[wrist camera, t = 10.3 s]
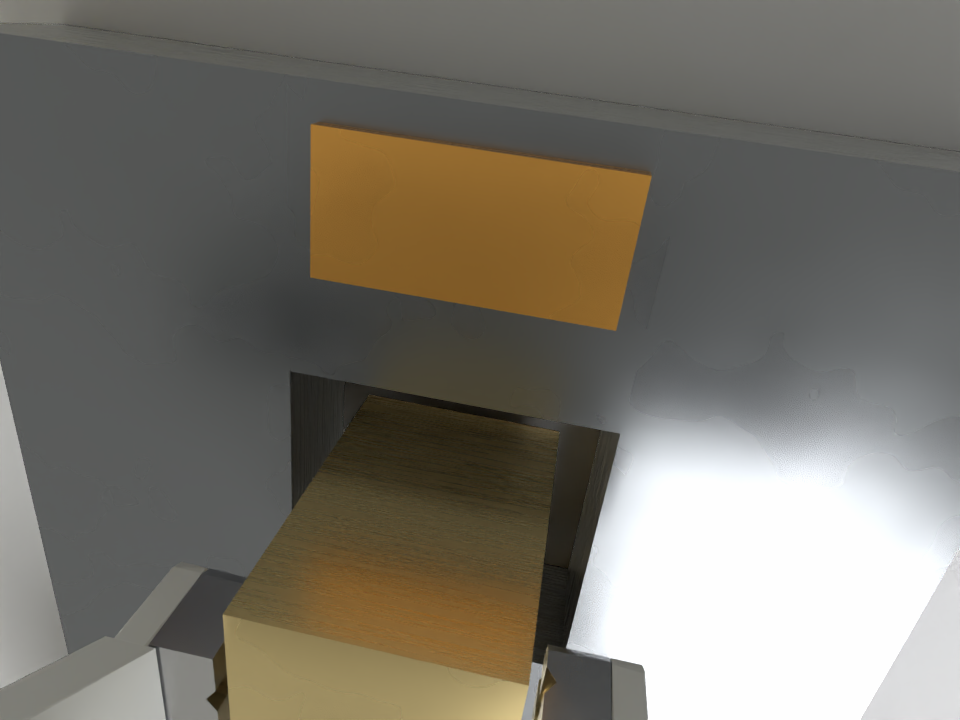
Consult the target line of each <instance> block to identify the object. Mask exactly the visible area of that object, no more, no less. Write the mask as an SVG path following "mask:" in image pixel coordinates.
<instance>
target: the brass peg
mask: <svg viewBox="0 0 960 720" xmlns="http://www.w3.org/2000/svg"><path fill="white" fill-rule="evenodd" d="M559 432H560V431H555V430H550V429H545V428H539V427H534V426H529V425H524V424H519V423H514V422H508V421H503V420H498V419H493V418H488V417H483V416H477V415H472V414H467V413H462V412H457V411H452V410H446V409H441V408H436V407H431V406H426V405H421V404H416V403H410V402H405V401H400V400H395V399H390V398H385V397H379V396H374V395H369V396H368V397H367V399H366V400H365V402H364V403H363V405H362V406H361V408H360V409H359V411H358V412H357V414H356V415H355V417H354V418H353V420H352V421H351V423H350V424H349V426H348V427H347V429H346V430H345V432H344V433H343V435H342V436H341V438H340V439H339V441H338V442H337V444H336V445H335V447H334V448H333V450H332V451H331V453H330V454H329V456H328V457H327V459H326V460H325V462H324V463H323V465H322V466H321V468H320V469H319V471H318V472H317V474H316V475H315V477H314V478H313V480H312V481H311V483H310V484H309V486H308V487H307V489H306V490H305V492H304V493H303V495H302V496H301V498H300V499H299V501H298V502H297V504H296V505H295V507H294V508H293V510H292V511H291V513H290V514H289V516H288V517H287V519H286V520H285V522H284V523H283V525H282V526H281V528H280V529H279V531H278V532H277V534H276V535H275V537H274V538H273V540H272V541H271V543H270V544H269V546H268V547H267V549H266V550H265V552H264V553H263V555H262V556H261V558H260V559H259V561H258V562H257V564H256V565H255V567H254V568H253V570H252V571H251V573H250V574H249V576H248V577H247V579H246V580H245V582H244V583H243V585H242V586H241V588H240V589H239V591H238V592H237V594H236V595H235V597H234V598H233V600H232V601H231V603H230V604H229V606H228V607H227V609H226V610H225V612H224V613H223V627H224V641H225V655H226V668H227V682H228V696H229V709H230V720H521V718H522V714H523V710H524V705H525V701H526V696H527V692H528V688H529V681H530V673H531V664H532V656H533V648H534V639H535V631H536V623H537V615H538V606H539V598H540V590H541V581H542V573H543V565H544V557H545V548H546V540H547V532H548V523H549V515H550V507H551V498H552V490H553V482H554V474H555V465H556V457H557V449H558V440H559Z"/></svg>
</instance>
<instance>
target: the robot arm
mask: <svg viewBox="0 0 960 720" xmlns="http://www.w3.org/2000/svg"><path fill="white" fill-rule="evenodd" d="M246 579H247V578H246V577H242V576H238V575H234V574H231V573H227V572H223V571H219V570H215V569H211V568H205V567H201V566H197V565H193V564H189V563H185V562H180V563H179V564H177V565H176V566H174V567H173V568H171V569H170V571H169V572H168V573H167V574H166V576H165V577H164V578H163V579H162V580H161V582H160V583H159V584H158V585H157V586H156V588H155V589H154V590H153V591H152V593H151V594H150V595H149V596H148V597H147V599H146V600H145V601H144V602H143V604H142V605H141V606H140V607H139V608H138V610H137V611H136V612H135V613H134V614H133V616H132V617H131V618H130V619H129V621H128V622H127V623H126V624H125V625H124V627H123V628H122V629H121V630H120V632H119V633H118V634H117V635H116V636H115V638H112V637H107V636H105V637H103V638H101V639H99V640H97V641H95V642H93V643H91V644H89V645H87V646H85V647H83V648H81V649H79V650H77V651H75V652H73V653H71V654H69V655H67V656H65V657H63V658H61V659H59V660H57V661H55V662H53V663H51V664H49V665H47V666H45V667H43V668H41V669H39V670H37V671H35V672H33V673H31V674H29V675H27V676H25V677H23V678H21V679H19V680H17V681H15V682H13V683H11V684H9V685H7V686H5V687H3V688H1V689H0V720H230V709H229V696H228V682H227V668H226V655H225V641H224V627H223V613H224V612H225V610H226V609H227V607H228V606H229V604H230V603H231V601H232V600H233V598H234V597H235V595H236V594H237V592H238V591H239V589H240V588H241V586H242V585H243V583H244V582H245V580H246ZM532 720H648V710H647V694H646V679H645V670H644V668H643V666H642V665H640V664H636V663H631V662H626V661H622V660H617V659H613V658H610V659H609V657H606V656H601V655H596V654H592V653H587V652H582V651H577V650H572V649H568V648H563V647H558V646H553V645H549V644H548V646H547V648H546V652H545V656H544V660H543V668H542V677H541V679H539V681H538V686H537V691H536V696H535V701H534V707H533V712H532Z"/></svg>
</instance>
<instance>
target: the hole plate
mask: <svg viewBox="0 0 960 720" xmlns="http://www.w3.org/2000/svg"><path fill="white" fill-rule="evenodd" d="M0 362H1V366H2V371H3V375H4V379H5V384H6V388H7V392H8V396H9V401H10V405H11V409H12V414H13V418H14V422H15V426H16V431H17V435H18V439H19V444H20V448H21V452H22V456H23V461H24V465H25V469H26V474H27V478H28V482H29V486H30V491H31V495H32V499H33V504H34V508H35V512H36V516H37V521H38V525H39V529H40V534H41V538H42V542H43V547H44V551H45V555H46V559H47V564H48V568H49V572H50V577H51V581H52V585H53V589H54V594H55V598H56V602H57V607H58V611H59V615H60V619H61V624H62V628H63V632H64V637H65V641H66V645H67V649H68V654H71V653H73V652H75V651H77V650H79V649H81V648H83V647H85V646H87V645H89V644H91V643H93V642H95V641H97V640H99V639H101V638H103V637H105V636H107V637H112V638H115V636H116V635H117V634H118V633H119V632H120V630H121V629H122V628H123V627H124V625H125V624H126V623H127V622H128V621H129V619H130V618H131V617H132V616H133V614H134V613H135V612H136V611H137V610H138V608H139V607H140V606H141V605H142V604H143V602H144V601H145V600H146V599H147V597H148V596H149V595H150V594H151V593H152V591H153V590H154V589H155V588H156V586H157V585H158V584H159V583H160V582H161V580H162V579H163V578H164V577H165V576H166V574H167V573H168V572H169V571H170V569H171V568H173V567H174V566H176V565H177V564H179V563H180V562H185V563H189V564H193V565H197V566H201V567H205V568H211V569H215V570H219V571H223V572H227V573H231V574H234V575H238V576H242V577H246V578H247V577H248V576H249V574H250V573H251V571H252V570H253V568H254V567H255V565H256V564H257V562H258V561H259V559H260V558H261V556H262V555H263V553H264V552H265V550H266V549H267V547H268V546H269V544H270V543H271V541H272V540H273V538H274V537H275V535H276V534H277V532H278V531H279V529H280V528H281V526H282V525H283V523H284V522H285V520H286V519H287V517H288V516H289V514H290V513H291V511H292V510H293V508H294V507H295V505H296V504H297V502H298V501H299V499H300V498H301V496H302V495H303V493H304V492H305V490H306V489H307V487H308V486H309V484H310V483H311V481H312V480H313V478H314V477H315V475H316V474H317V472H318V471H319V469H320V468H321V466H322V465H323V463H324V462H325V460H326V459H327V457H328V456H329V454H330V453H331V451H332V450H333V448H334V447H335V445H336V444H337V442H338V441H339V439H340V438H341V436H342V435H343V415H344V382H350V383H355V384H360V385H366V386H371V387H376V388H381V389H387V390H392V391H397V392H403V393H408V394H413V395H418V396H424V397H429V398H434V399H440V400H445V401H450V402H455V403H461V404H466V405H471V406H477V407H482V408H487V409H492V410H498V411H503V412H508V413H514V414H519V415H524V416H529V417H535V418H540V419H545V420H551V421H556V422H561V423H566V424H572V425H577V426H582V427H588V428H593V429H598V430H601V432H600V436H599V440H598V445H597V449H596V453H595V457H594V461H593V466H592V470H591V474H590V478H589V483H588V487H587V491H586V495H585V499H584V504H583V508H582V512H581V516H580V521H579V525H578V529H577V533H576V537H575V542H574V546H573V550H572V554H571V559H570V563H569V567H568V569H565V568H560V567H556V566H551V565H546V564H544V565H543V573H542V581H541V590H540V598H539V606H538V615H537V623H536V631H535V639H534V648H533V656H532V664H531V673H530V681H529V688H528V692H527V696H526V701H525V705H524V710H523V714H522V718H521V720H532V712H533V707H534V701H535V696H536V691H537V686H538V681H539V679H541V677H542V668H543V660H544V656H545V652H546V648H547V646H548V644H549V645H553V646H558V647H563V648H568V649H572V650H577V651H582V652H587V653H592V654H596V655H601V656H606V657H609V659H610V658H613V659H617V660H622V661H626V662H631V663H636V664H640V665H642V666H643V668H644V670H645V679H646V694H647V710H648V720H860V719H861V717H862V715H863V713H864V712H865V710H866V708H867V707H868V705H869V703H870V701H871V700H872V698H873V696H874V694H875V693H876V691H877V689H878V688H879V686H880V684H881V682H882V681H883V679H884V677H885V675H886V674H887V672H888V670H889V669H890V667H891V665H892V663H893V662H894V660H895V658H896V657H897V655H898V653H899V651H900V650H901V648H902V646H903V644H904V643H905V641H906V639H907V638H908V636H909V634H910V632H911V631H912V629H913V627H914V625H915V624H916V622H917V620H918V619H919V617H920V615H921V613H922V612H923V610H924V608H925V607H926V605H927V603H928V601H929V600H930V598H931V596H932V594H933V593H934V591H935V589H936V588H937V586H938V584H939V582H940V581H941V579H942V577H943V576H944V574H945V572H946V570H947V569H948V567H949V565H950V563H951V562H952V560H953V558H954V557H955V555H956V553H957V551H958V550H959V548H960V152H958V151H951V150H944V149H937V148H929V147H922V146H915V145H908V144H901V143H894V142H887V141H880V140H873V139H866V138H859V137H852V136H845V135H838V134H831V133H824V132H817V131H810V130H803V129H796V128H789V127H782V126H774V125H767V124H760V123H753V122H746V121H739V120H732V119H725V118H718V117H711V116H704V115H697V114H690V113H683V112H676V111H669V110H662V109H655V108H648V107H641V106H634V105H627V104H619V103H612V102H605V101H598V100H591V99H584V98H577V97H570V96H563V95H556V94H549V93H542V92H535V91H528V90H521V89H514V88H507V87H500V86H493V85H486V84H479V83H472V82H465V81H457V80H450V79H443V78H436V77H429V76H422V75H415V74H408V73H401V72H394V71H387V70H380V69H373V68H366V67H359V66H352V65H345V64H338V63H331V62H324V61H317V60H310V59H302V58H295V57H288V56H281V55H274V54H267V53H260V52H253V51H246V50H239V49H232V48H225V47H218V46H211V45H204V44H197V43H190V42H183V41H176V40H169V39H162V38H155V37H147V36H140V35H133V34H126V33H119V32H112V31H105V30H98V29H91V28H84V27H77V26H70V25H63V24H30V23H0Z"/></svg>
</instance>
